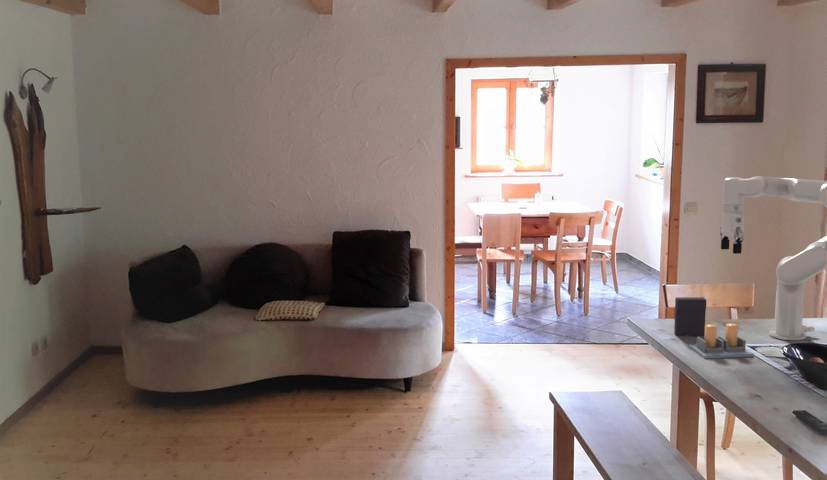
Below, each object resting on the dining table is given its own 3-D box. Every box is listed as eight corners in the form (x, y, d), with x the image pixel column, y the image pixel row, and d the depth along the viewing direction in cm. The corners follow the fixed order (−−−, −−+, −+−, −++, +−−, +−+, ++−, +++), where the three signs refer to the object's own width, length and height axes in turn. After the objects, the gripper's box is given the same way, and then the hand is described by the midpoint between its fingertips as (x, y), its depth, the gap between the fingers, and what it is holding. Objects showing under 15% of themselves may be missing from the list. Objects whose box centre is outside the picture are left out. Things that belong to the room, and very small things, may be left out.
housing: (735, 345, 263) (736, 319, 262) (753, 356, 251) (755, 329, 249) (688, 347, 263) (689, 321, 261) (704, 358, 250) (705, 331, 248)
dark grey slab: (701, 333, 280) (703, 296, 278) (705, 336, 276) (706, 299, 273) (673, 333, 281) (674, 296, 279) (676, 336, 277) (677, 299, 274)
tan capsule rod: (733, 346, 259) (734, 323, 258) (739, 350, 255) (740, 326, 254) (723, 347, 259) (724, 323, 257) (728, 350, 255) (729, 326, 253)
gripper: (753, 210, 268) (751, 254, 271) (731, 206, 285) (729, 247, 288) (734, 211, 268) (732, 255, 270) (713, 206, 285) (711, 248, 287)
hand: (730, 251), depth 279 cm, fingers open, 9 cm apart
